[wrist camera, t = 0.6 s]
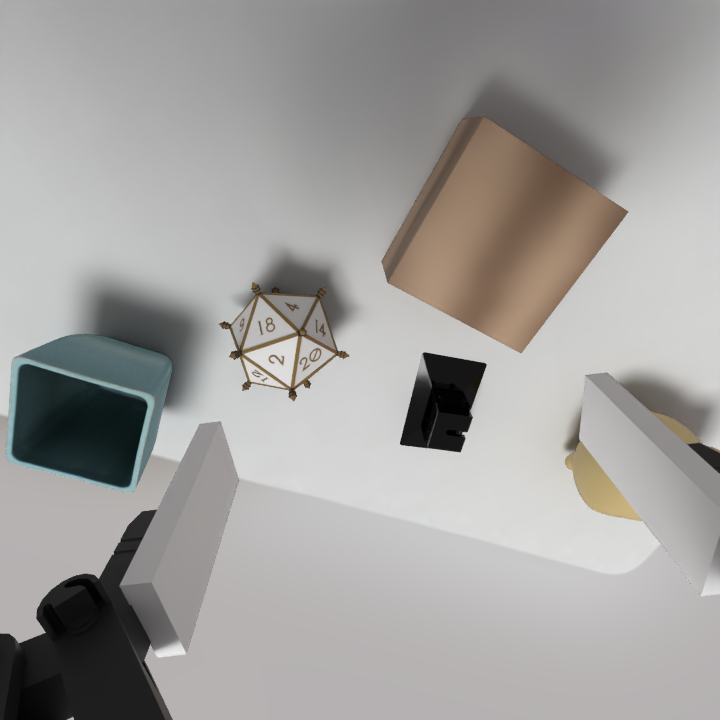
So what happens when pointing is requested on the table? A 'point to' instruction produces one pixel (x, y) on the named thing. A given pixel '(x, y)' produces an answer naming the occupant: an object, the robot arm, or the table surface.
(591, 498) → the toy pig
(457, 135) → the walnut block
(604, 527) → the table surface
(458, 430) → the black angular block
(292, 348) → the game die
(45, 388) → the flower pot
